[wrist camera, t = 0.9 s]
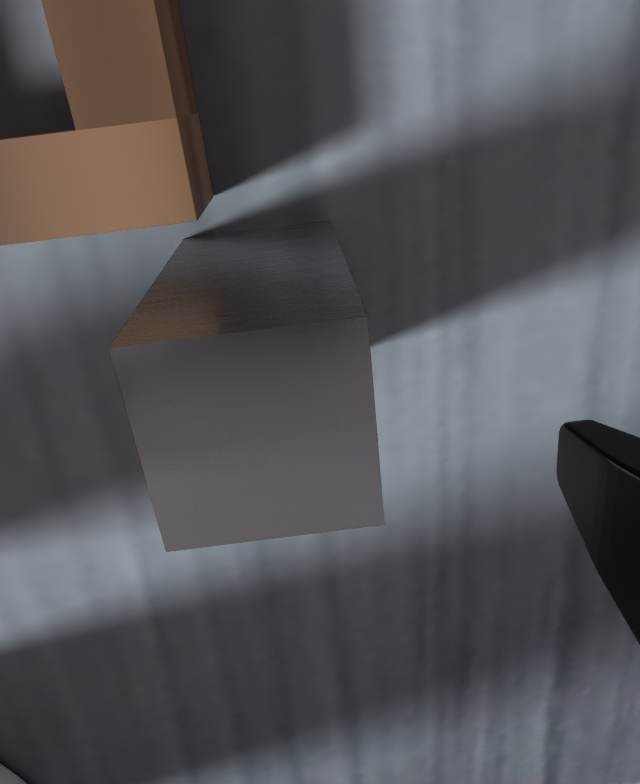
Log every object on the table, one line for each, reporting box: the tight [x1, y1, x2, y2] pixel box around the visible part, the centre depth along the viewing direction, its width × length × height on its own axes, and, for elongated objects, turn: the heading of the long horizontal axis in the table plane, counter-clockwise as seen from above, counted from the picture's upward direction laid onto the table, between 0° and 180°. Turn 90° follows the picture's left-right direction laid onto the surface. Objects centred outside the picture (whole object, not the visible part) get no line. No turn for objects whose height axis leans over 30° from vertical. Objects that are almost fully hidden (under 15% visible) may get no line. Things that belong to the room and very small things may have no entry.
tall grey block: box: [109, 221, 385, 552], centre depth 14 cm, size 4×4×8 cm
